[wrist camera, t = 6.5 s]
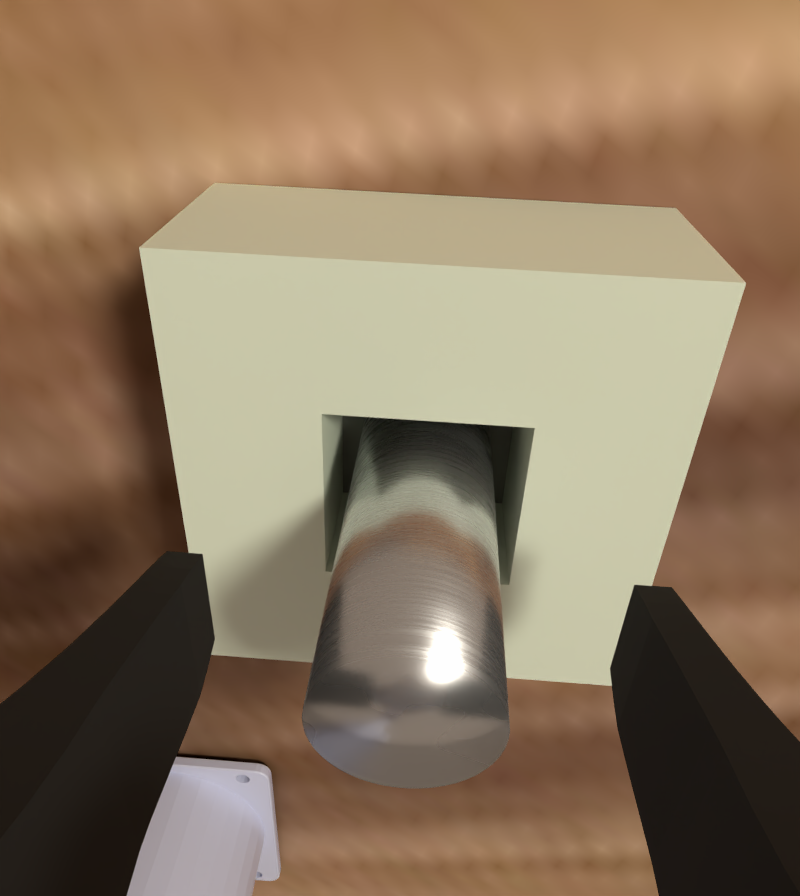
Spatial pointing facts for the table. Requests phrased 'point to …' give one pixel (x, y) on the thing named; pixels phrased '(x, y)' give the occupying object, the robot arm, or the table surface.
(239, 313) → the bore block
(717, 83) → the table surface
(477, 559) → the pin
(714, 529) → the table surface
